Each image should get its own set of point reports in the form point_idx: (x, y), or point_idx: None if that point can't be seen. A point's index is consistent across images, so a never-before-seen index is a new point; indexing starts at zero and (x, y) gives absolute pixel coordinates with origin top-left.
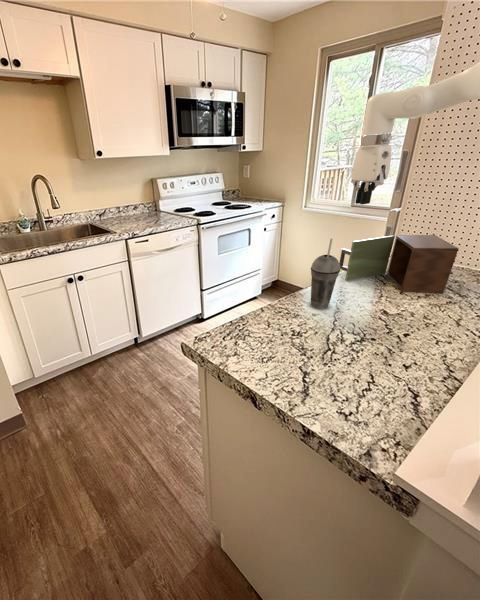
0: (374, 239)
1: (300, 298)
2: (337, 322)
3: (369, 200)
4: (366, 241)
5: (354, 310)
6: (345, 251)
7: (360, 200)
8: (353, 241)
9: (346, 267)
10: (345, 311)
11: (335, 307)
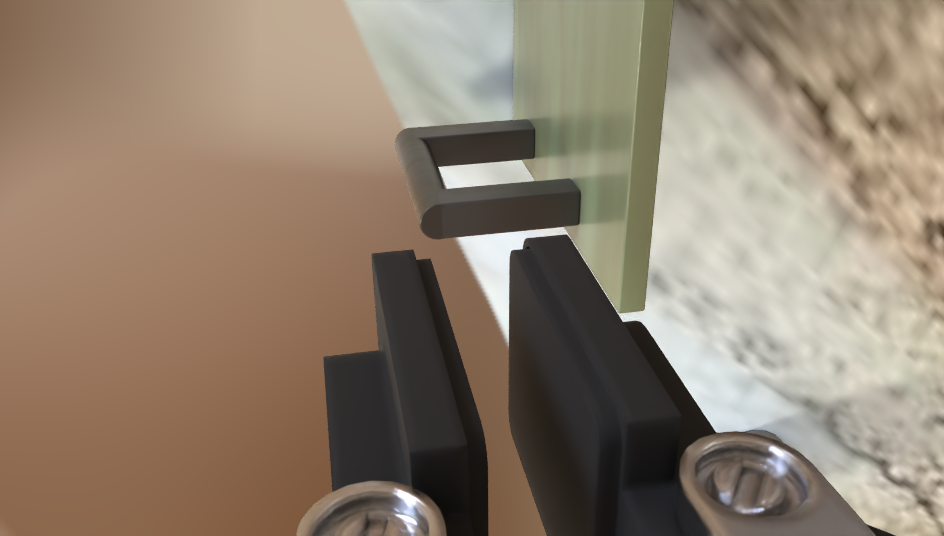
0: (667, 57)
1: None
2: (898, 465)
3: (635, 329)
4: (653, 159)
5: (862, 348)
6: (483, 228)
7: (531, 476)
8: (627, 309)
9: (490, 153)
10: (848, 388)
11: (794, 406)
